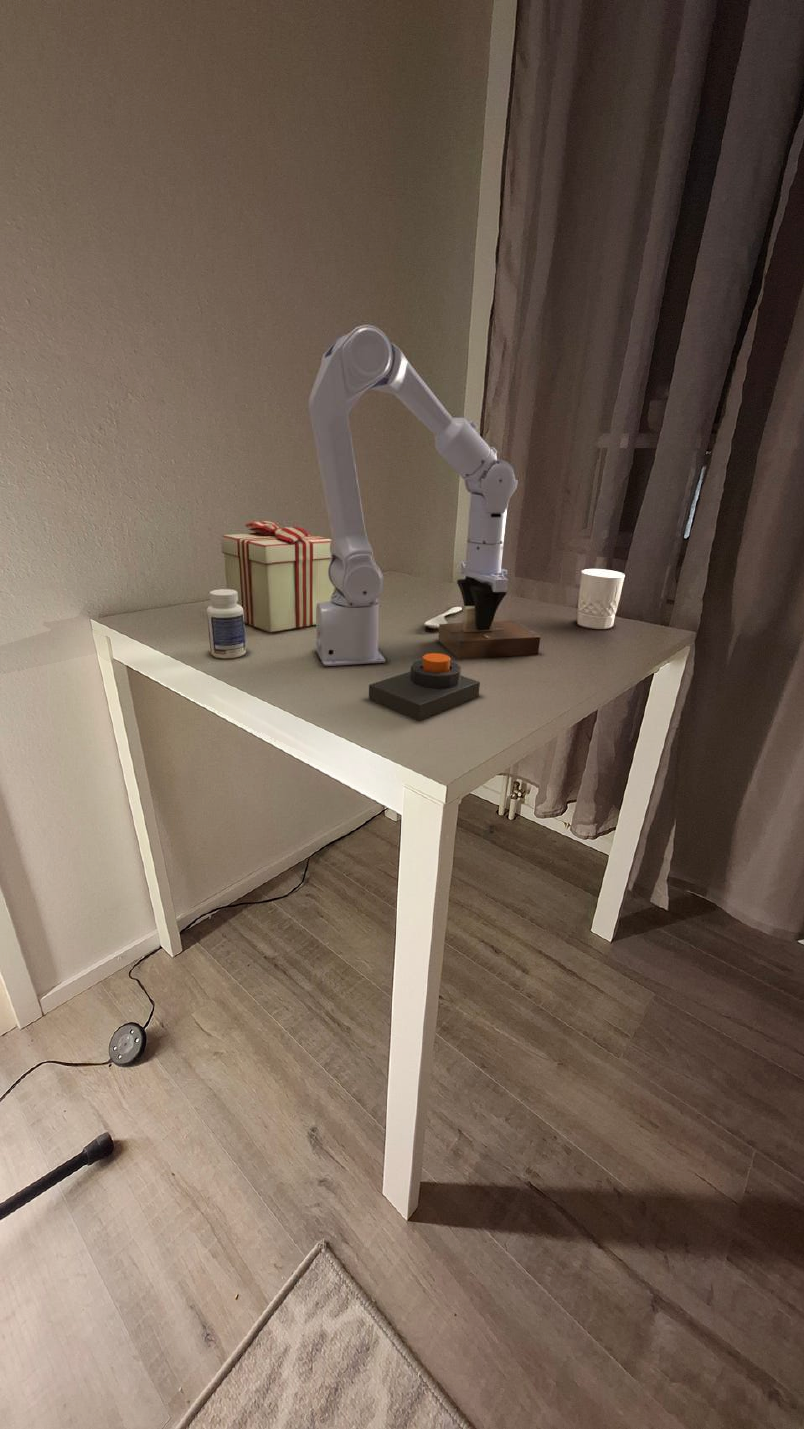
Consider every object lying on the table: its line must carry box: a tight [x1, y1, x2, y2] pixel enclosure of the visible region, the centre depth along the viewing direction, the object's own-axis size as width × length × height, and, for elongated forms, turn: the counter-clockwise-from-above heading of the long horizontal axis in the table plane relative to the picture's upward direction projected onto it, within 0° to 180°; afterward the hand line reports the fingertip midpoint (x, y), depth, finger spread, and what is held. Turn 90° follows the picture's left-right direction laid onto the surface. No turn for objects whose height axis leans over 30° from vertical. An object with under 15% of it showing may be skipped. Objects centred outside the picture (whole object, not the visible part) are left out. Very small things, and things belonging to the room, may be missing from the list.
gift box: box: [220, 520, 335, 633], centre depth 113 cm, size 17×18×17 cm
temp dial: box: [461, 605, 496, 632], centre depth 101 cm, size 5×2×4 cm, turn 106°
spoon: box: [423, 606, 463, 630], centre depth 119 cm, size 4×21×2 cm, turn 161°
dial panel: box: [437, 620, 541, 660], centre depth 103 cm, size 14×10×3 cm
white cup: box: [576, 568, 626, 630], centre depth 118 cm, size 8×8×10 cm
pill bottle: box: [206, 588, 247, 659], centre depth 94 cm, size 5×5×10 cm
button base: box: [368, 659, 481, 722], centre depth 81 cm, size 12×9×4 cm
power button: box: [422, 652, 451, 673], centre depth 81 cm, size 4×4×2 cm
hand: (477, 626), depth 102 cm, fingers open, 4 cm apart
